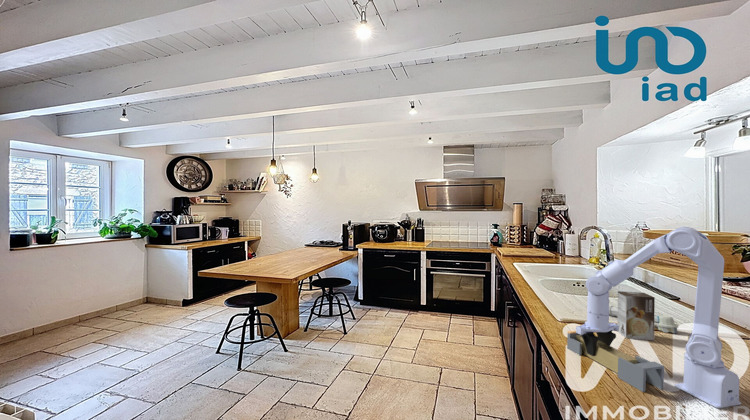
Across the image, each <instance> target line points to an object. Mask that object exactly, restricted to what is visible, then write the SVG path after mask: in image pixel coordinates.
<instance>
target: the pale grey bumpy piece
mask: <svg viewBox="0 0 750 420" xmlns="http://www.w3.org/2000/svg"><path fill="white" fill-rule="evenodd" d="M609 317H617V318H618V306H617V307H616V306H613V305H611V306H610V305H609ZM654 324H655V325H656V326H657V329H658V331H661V332H663V333H672V334H677V333H678V328H679V325H678V323H677V324H675V319H674V318H673V316H670V315H657V314H654Z"/></svg>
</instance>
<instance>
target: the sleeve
mask: <svg viewBox="0 0 750 420" xmlns="http://www.w3.org/2000/svg"><path fill="white" fill-rule="evenodd" d="M634 358H635V359H637V360H638V363H637V364H632V363H630V362H628V361H627V360H625V359H623V358H621V357H620V358H618V373H617V378H618V379H619V380H621V381H623V382H624V383H627V384H629V385H630V386H632V387H634V388H635V389H637V390H639V391H640V392H642V393H645V392H646V388H647V387H646V383H648V384H650V385H652V386H654V387H655V388H658V389H660V390H664V384H665V383H664V381H665V365H663V364H661V363H658V362H656V361H654V360H653V361H649V360H648V359H646V358H644V357H642V356H640V355H635V356H634Z"/></svg>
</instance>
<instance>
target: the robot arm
mask: <svg viewBox="0 0 750 420" xmlns="http://www.w3.org/2000/svg"><path fill="white" fill-rule="evenodd" d="M672 251H675V252H676V253H679V254H682V255H683V256H686V257H687V258H689V259H690V260H691V261H693V262H694V264H696V265H697V266H698V268H697V280H696V281H697V282H696V290H695V303H694V313H693V324H692V332H691V333H689V335H688V339H687V343H686V344H685V349H684V350H685V352H684V355H683V357H684V358H683V382H680V383H679V382H678V383H675V384H674V388H678V389H679V390H681V391H684V392H685V393H687V394H689V395H691V396H693V397H695V398H697V399H698V400H701V401H702V402H704V403H706V404H709V405H710V406H712V407H714V408H716V409H722V408H727V407H734V406H739V405H742V402H741V401H740V377H739V376H738V375H737V374H736V373H735V372H734V371H732V370H729V368H727V367H726V366H725V362H724V361H723V360H722V350H723V343H722V341H721V339H720V338H719V324H720V323H719V322H720V313H721V304H722V291H723V281H724V273H725V272H724V271H725V270H724V269H725V258H724V256H723V255H722V254H721V253H720V252H719V250H718V249H717V248H716V246H715V245H714V244H713V243H712V242H711V240H710V239H709V238H708V237H707V235H705V234H703V233H702V232H700V231H699V230H697V229H695V228H693V227H690V226H683V227H682V226H681V227H677V228H675V229H673V230H671V231H669V232H668V233H666V234H664V235H661V236H659V237H657V238H655V239H653V240H651V241H650V242H648V243H647V244H645V245H644V246H643V247H641V248H640V249H638V250H637V251H636V252H634V253H633V254H631V255H630V256H628V258H626V259H615V260H610V261H609V262H608V263H607V264H608V265H607V266H605V267H603V268H602V269H601V270H597V271H595V272H594V273H595V275H591V276H589V277H588V278H587V279H586V281H585V288H586V290H587V297H586V298H587V301H586V302H587V303H586V307H587V308H586V320H585V321H584V323H583V324H581V325H578V326H575V331H576V333H578V334H580V335H581V336H582V338H583V340H584V343H585V346H586V349H587V353H588V354H589V355H591V356H595V352H596V345H597V342H598V340H599V341H601V342H603V343H605V344H607V345H609V346H612V343H613V341H614V340H615V339H616V338H617V334H616V333H614V332H618V331H619V325H618V323H617V324H616V323H614V322H611V323H610V315H609V306H610V291H611V290H612V288H613V287H616V286H618V285H619V284H621V283H622V282H625V281H626V280H627V279H629V278H631V277H632V276H634V269H635V268H637V267H639V266H640V265H641V264H643V263H645V262H647V261H648V260H650V259H652V258H653V257H655V256H657V255H658V254H667V253H672ZM613 331H614V332H613ZM595 333H596V335H595Z"/></svg>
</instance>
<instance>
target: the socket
mask: <svg viewBox="0 0 750 420" xmlns="http://www.w3.org/2000/svg"><path fill="white" fill-rule="evenodd" d="M577 335H580V334H578V333H576V330H568V331H567V339H566V341H567V342H566V343H567V344H566V347H567V349H568V350H570V351H571V352H573V353H575V354H576V353H577V354H576V355H578V354H579V356H582V354H583V353H582V343H580V342H579V341H577Z"/></svg>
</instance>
